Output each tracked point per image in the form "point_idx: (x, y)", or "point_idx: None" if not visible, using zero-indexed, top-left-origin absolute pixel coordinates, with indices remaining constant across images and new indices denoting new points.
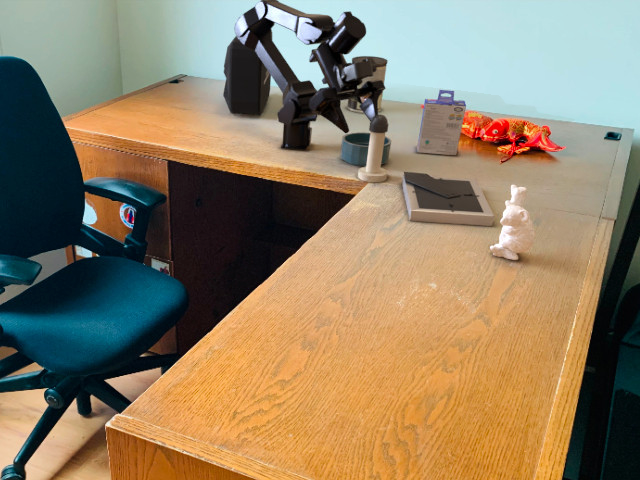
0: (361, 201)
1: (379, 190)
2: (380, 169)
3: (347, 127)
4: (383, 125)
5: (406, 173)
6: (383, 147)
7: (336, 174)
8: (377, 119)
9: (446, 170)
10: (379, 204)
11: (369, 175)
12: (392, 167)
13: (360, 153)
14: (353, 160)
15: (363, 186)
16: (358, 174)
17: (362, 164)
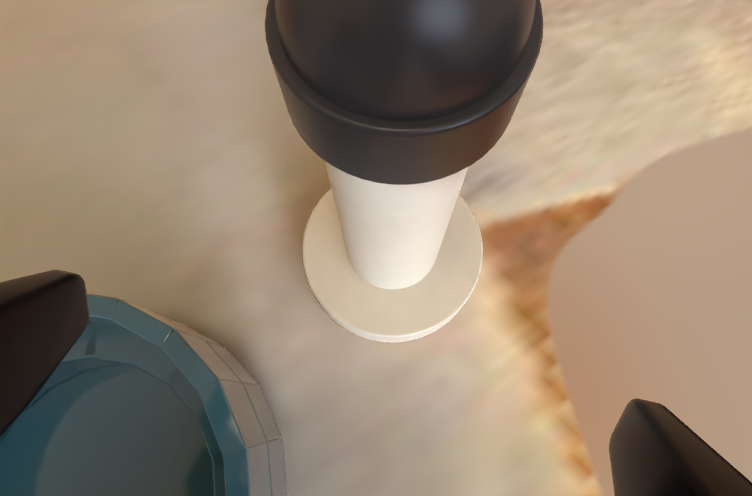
0: (723, 112)
1: (528, 129)
2: (330, 228)
3: (676, 432)
4: None
5: None
6: (114, 298)
7: (511, 458)
8: None
9: (16, 50)
10: (677, 41)
11: (474, 218)
12: (142, 269)
13: (259, 432)
14: (281, 480)
15: (547, 215)
16: (455, 314)
17: (267, 407)
